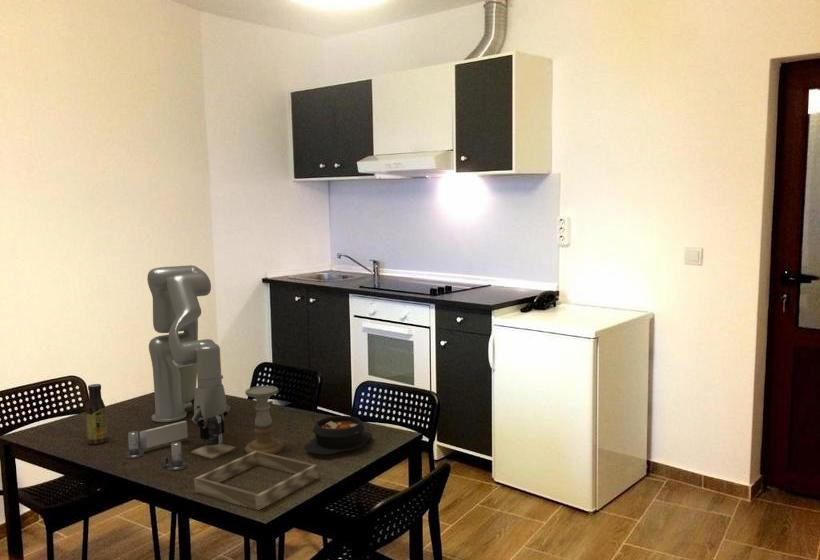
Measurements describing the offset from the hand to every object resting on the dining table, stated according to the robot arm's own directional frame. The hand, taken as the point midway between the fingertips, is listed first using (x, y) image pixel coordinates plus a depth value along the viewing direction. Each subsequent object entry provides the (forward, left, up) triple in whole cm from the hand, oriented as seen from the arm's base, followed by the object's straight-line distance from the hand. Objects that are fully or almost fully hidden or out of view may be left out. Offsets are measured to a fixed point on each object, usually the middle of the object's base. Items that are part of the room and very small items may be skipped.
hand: (212, 435), depth 223 cm
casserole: (-23, +34, -6) cm, 41 cm away
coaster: (0, 0, -5) cm, 5 cm away
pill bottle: (0, 0, -3) cm, 3 cm away
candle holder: (-9, +14, -5) cm, 18 cm away
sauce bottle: (+13, -42, -5) cm, 44 cm away
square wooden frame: (+13, +32, -5) cm, 35 cm away
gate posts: (+15, -10, -5) cm, 19 cm away
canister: (-33, -56, -5) cm, 65 cm away
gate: (+5, -17, -4) cm, 19 cm away
